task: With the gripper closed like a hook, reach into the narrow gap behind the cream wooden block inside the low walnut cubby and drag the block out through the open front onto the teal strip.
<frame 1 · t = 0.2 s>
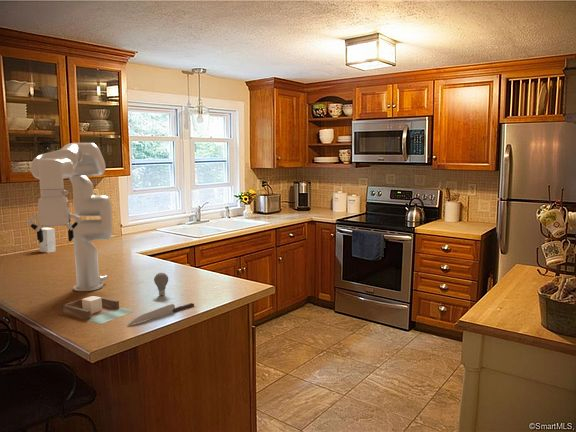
hand: (56, 241, 170), 30 cm above the worktop, tool pointing down, fingers open, 9 cm apart
walnut cubby: (95, 313, 183), on the worktop
cream block: (92, 310, 183), point 1 cm above the worktop, touching walnut cubby
skincare box: (48, 251, 296), on the worktop
kitchen knife: (161, 317, 180), on the worktop
light bulb: (161, 295, 206), on the worktop
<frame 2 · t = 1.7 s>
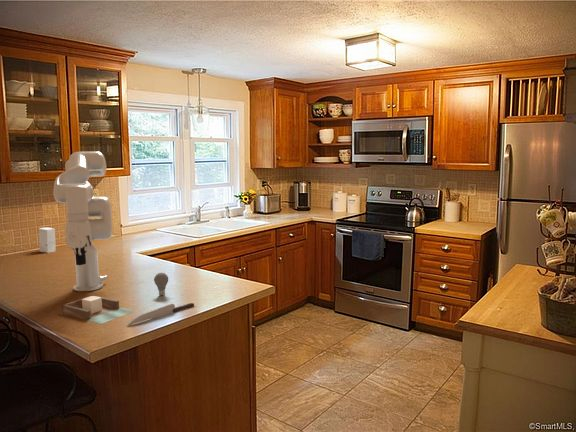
hand: (81, 264, 183), 19 cm above the worktop, tool pointing down, fingers closed
nothing on the worktop moved.
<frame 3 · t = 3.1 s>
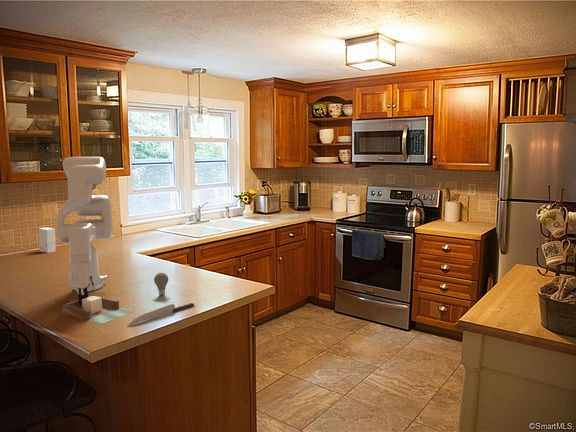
hand: (83, 303, 185), 3 cm above the worktop, tool pointing down, fingers closed
cream block: (92, 310, 183), point 1 cm above the worktop, touching gripper, walnut cubby
everything else where it was.
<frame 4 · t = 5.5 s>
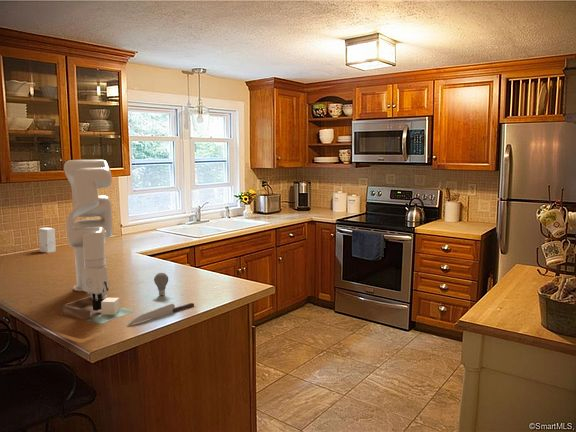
hand: (97, 309, 181), 2 cm above the worktop, tool pointing down, fingers closed
cream block: (111, 312, 182), point 1 cm above the worktop, touching gripper
everything else where it was.
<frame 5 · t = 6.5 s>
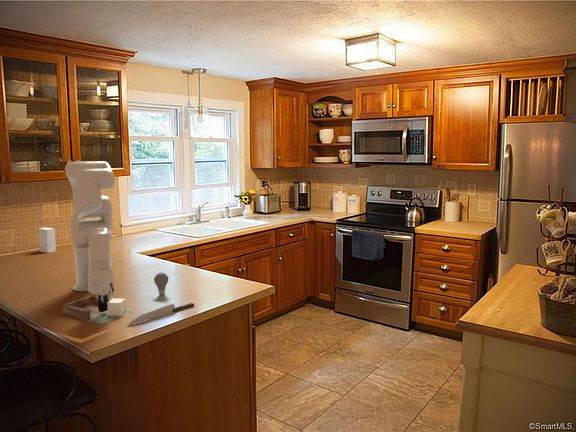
hand: (103, 310, 180), 2 cm above the worktop, tool pointing down, fingers closed
cream block: (117, 313, 180), point 1 cm above the worktop, touching gripper, walnut cubby
everything else where it was.
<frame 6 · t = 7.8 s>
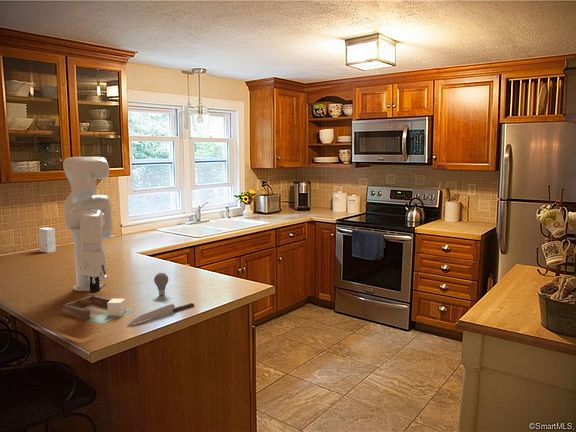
hand: (95, 292, 182), 9 cm above the worktop, tool pointing down, fingers closed
cream block: (117, 313, 180), point 1 cm above the worktop, touching walnut cubby
everything else where it was.
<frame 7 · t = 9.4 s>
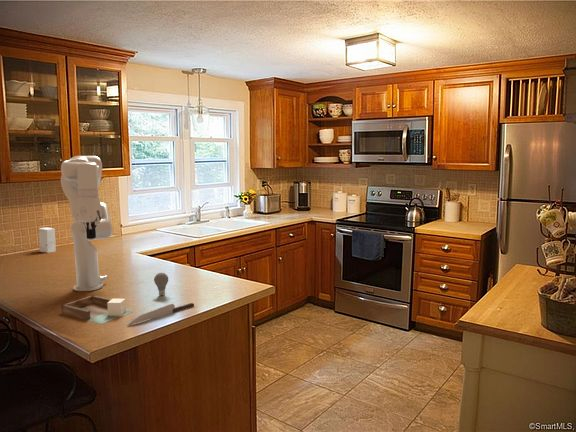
hand: (91, 238, 194), 27 cm above the worktop, tool pointing down, fingers closed
nothing on the worktop moved.
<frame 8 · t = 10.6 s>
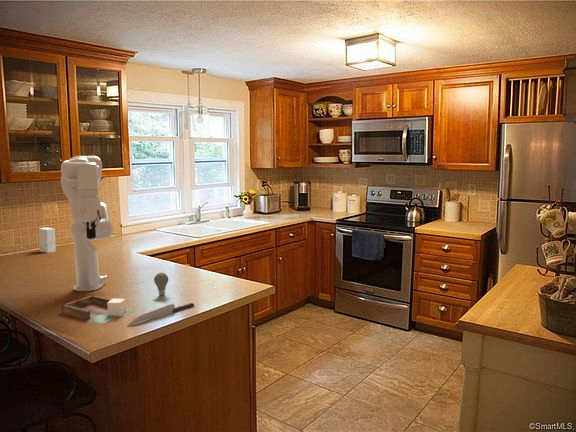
hand: (91, 238, 194), 27 cm above the worktop, tool pointing down, fingers closed
nothing on the worktop moved.
at the end: cream block inside the target area (2.8 cm from its centre), point 1.0 cm above the worktop; cream block tilted 0° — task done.
